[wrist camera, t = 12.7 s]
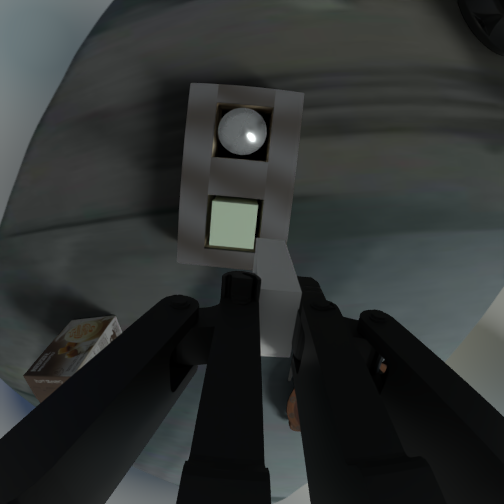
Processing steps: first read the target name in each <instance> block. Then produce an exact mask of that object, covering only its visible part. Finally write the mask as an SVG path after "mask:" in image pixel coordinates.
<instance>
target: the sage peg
mask: <svg viewBox="0 0 504 504" xmlns="http://www.w3.org/2000/svg"><path fill="white" fill-rule="evenodd" d="M257 210H258V202H257V199H252V198H242V197H231V196H220V195H217V196H216V197H215V198H214V200H213V201H212V213H211V226H210V240H209V245H214V246H225V247H235V248H246V249H253V248H254V238H255V229H256V220H257Z"/></svg>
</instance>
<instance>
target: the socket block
mask: <svg viewBox="0 0 504 504" xmlns="http://www.w3.org/2000/svg"><path fill="white" fill-rule="evenodd" d="M303 101H304V93H300V92H293V91H285V90H278V89H269V88H260V87H250V86H238V85H224V84H206V83H191V85H190V93H189V101H188V110H187V119H186V129H185V139H184V150H183V162H182V175H181V189H180V205H179V223H178V246H177V263H183V264H193V265H203V266H213V267H223V268H234V269H245V270H253V265H254V256H255V247H256V238H254V248H253V249H246V248H235V247H225V246H214V245H209V240H210V226H211V213H212V201H213V200H214V195H220V196H231V197H242V198H252V199H261V203H260V212H259V221H258V230H257V238H264V239H274V240H284V241H285V243H286V245H287V238H288V230H289V223H290V215H291V207H292V199H293V191H294V183H295V175H296V166H297V157H298V148H299V139H300V130H301V121H302V111H303ZM237 108H249V109H252V110H254V111H256V112H257V113H258V114H266V115H270V119H269V128H268V138H267V147H266V156H265V161H259V160H249V159H238V158H227V157H217V156H218V145H219V136H218V127H219V123H220V121H221V116H222V111H231V110H233V109H237Z"/></svg>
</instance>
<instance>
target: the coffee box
mask: <svg viewBox="0 0 504 504" xmlns="http://www.w3.org/2000/svg"><path fill="white" fill-rule="evenodd" d="M121 333H122V331H121V328H120V326H119V323H118V321H117V318H116V316H115V315H112V316H103V317H95V318H87V319H78V320H71V321H70V323H69V324H68V325H67V326H66V327H65V328H64V329H63V330H62V331H61V333H60V334H59V335H58V336H57V337H56V338H55V339H54V340H53V342H52V343H51V344H50V345H49V346H48V347H47V348H46V350H45V351H44V352H43V353H42V354H41V355H40V357H39V358H38V359H37V360H36V361H35V362H34V364H33V365H32V366H31V367H30V368H29V370H28V371H27V372H26V373H25V374H24V375H23V376H24V378H25V379H26V381H27V383H28V385H29V386H30V388H31V390H32V391H33V393H34V395H35V396H36V398H37V399H38V400H39V401H40V403H41V402H42V401H44V400H45V399H46V398H47V397H48V396H49V395H50V394H52V393H53V392H54V391H55V390H56V389H57V388H58V387H60V386H61V385H62V384H63V383H64V382H65V381H66V380H68V379H69V378H70V377H71V376H72V375H73V374H75V373H76V372H77V371H78V370H79V369H80V368H81V367H83V366H84V365H85V364H86V363H87V362H88V361H90V360H91V359H92V358H93V357H94V356H95V355H97V354H98V353H99V352H100V351H101V350H102V349H104V348H105V347H106V346H107V345H108V344H109V343H111V342H112V341H113V340H114V339H115V338H117V337H118V336H119V335H120V334H121Z"/></svg>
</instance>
